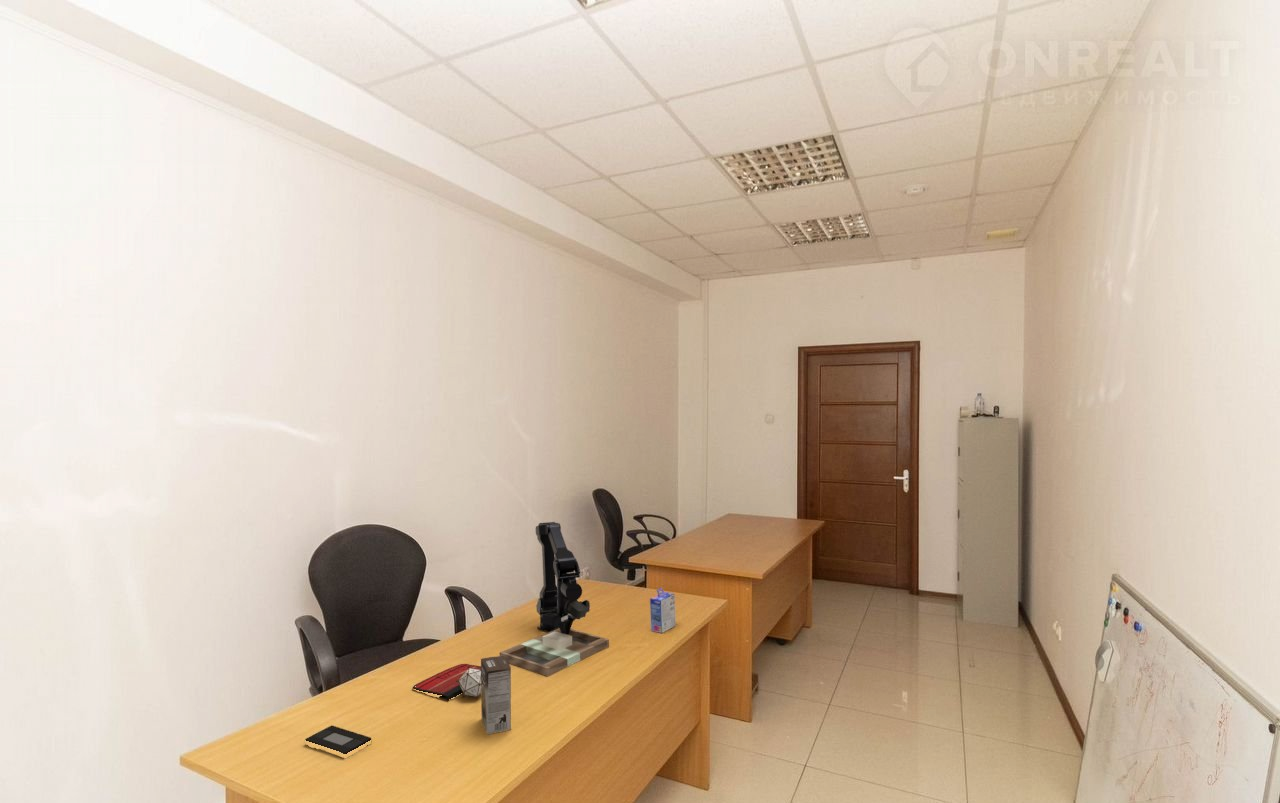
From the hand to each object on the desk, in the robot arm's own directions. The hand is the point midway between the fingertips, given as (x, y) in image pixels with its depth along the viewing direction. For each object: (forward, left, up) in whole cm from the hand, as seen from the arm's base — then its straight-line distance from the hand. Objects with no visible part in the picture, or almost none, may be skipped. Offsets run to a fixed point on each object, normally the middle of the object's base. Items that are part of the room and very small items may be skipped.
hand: (565, 638), depth 215 cm
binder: (-9, -39, -4) cm, 40 cm away
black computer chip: (-3, -78, -4) cm, 78 cm away
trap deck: (0, -5, -4) cm, 6 cm away
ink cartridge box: (+16, +36, -4) cm, 40 cm away
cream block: (0, -4, -1) cm, 4 cm away
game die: (+3, -42, -4) cm, 42 cm away
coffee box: (+21, -49, -4) cm, 53 cm away
